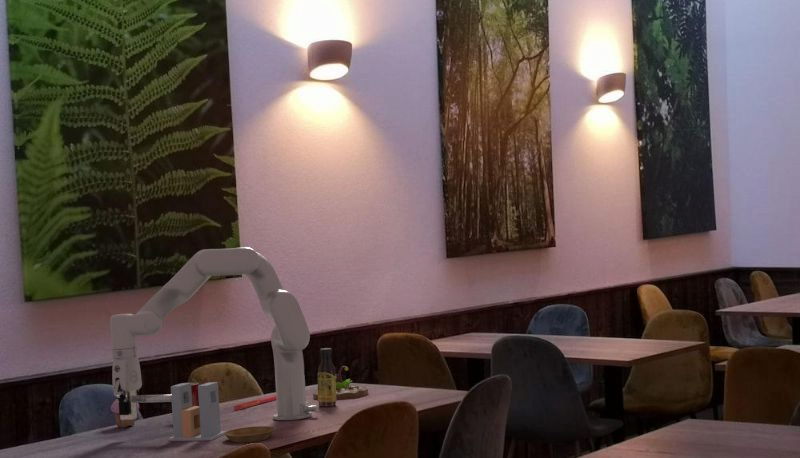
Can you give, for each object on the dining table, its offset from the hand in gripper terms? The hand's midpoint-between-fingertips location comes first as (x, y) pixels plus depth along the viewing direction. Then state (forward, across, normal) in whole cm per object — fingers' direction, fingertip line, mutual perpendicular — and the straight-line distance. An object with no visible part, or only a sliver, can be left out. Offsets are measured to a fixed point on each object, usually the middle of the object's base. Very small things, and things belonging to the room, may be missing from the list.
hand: (128, 413), depth 333 cm
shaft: (+2, 0, -8) cm, 9 cm away
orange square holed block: (+7, 0, -22) cm, 23 cm away
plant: (+8, +80, -41) cm, 90 cm away
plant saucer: (+8, -3, -42) cm, 42 cm away
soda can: (+8, +33, -4) cm, 34 cm away
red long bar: (+8, +62, -15) cm, 65 cm away
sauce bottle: (+8, +56, -44) cm, 72 cm away
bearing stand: (+8, 0, -23) cm, 24 cm away
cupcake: (+8, +21, +14) cm, 26 cm away
